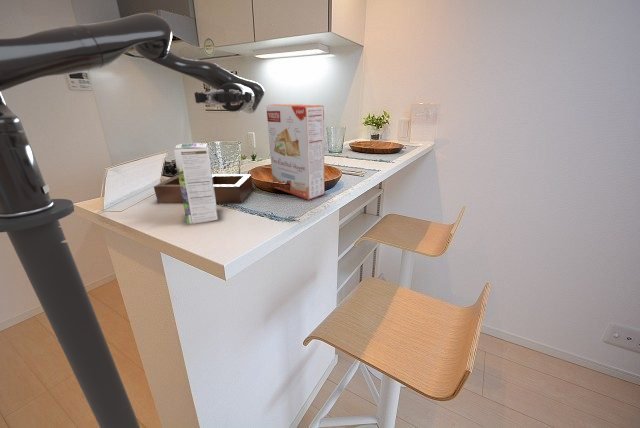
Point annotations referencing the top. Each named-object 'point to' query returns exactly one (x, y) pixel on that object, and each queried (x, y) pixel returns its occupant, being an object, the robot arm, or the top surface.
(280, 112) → the cracker box
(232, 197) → the wooden serving tray
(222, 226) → the top surface
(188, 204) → the syrup box
